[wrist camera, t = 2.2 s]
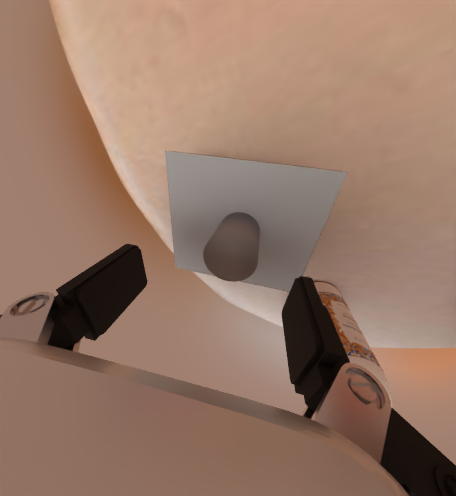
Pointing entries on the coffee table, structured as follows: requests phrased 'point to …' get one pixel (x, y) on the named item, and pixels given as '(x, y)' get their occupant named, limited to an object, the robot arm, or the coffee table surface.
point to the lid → (247, 216)
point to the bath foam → (350, 332)
